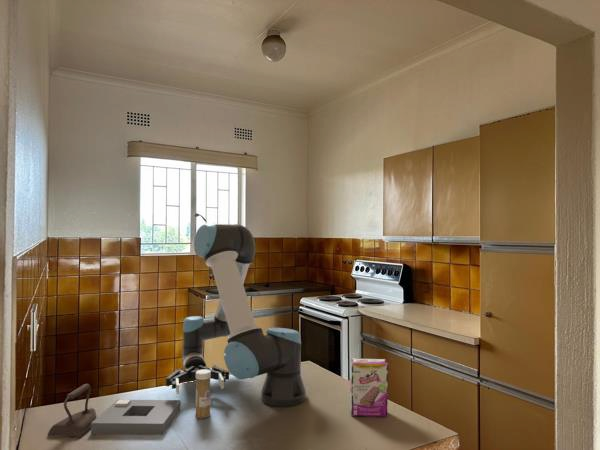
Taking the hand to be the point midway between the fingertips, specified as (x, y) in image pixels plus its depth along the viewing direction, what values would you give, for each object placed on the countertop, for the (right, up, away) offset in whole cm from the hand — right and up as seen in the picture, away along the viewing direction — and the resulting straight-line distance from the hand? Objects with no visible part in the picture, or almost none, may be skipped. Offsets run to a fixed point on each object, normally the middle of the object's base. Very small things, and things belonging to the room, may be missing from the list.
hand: (200, 387), depth 125 cm
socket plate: (-17, -8, -6) cm, 19 cm away
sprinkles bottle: (+1, -8, -2) cm, 8 cm away
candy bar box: (+52, -8, -1) cm, 53 cm away
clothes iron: (-33, -8, -9) cm, 35 cm away
